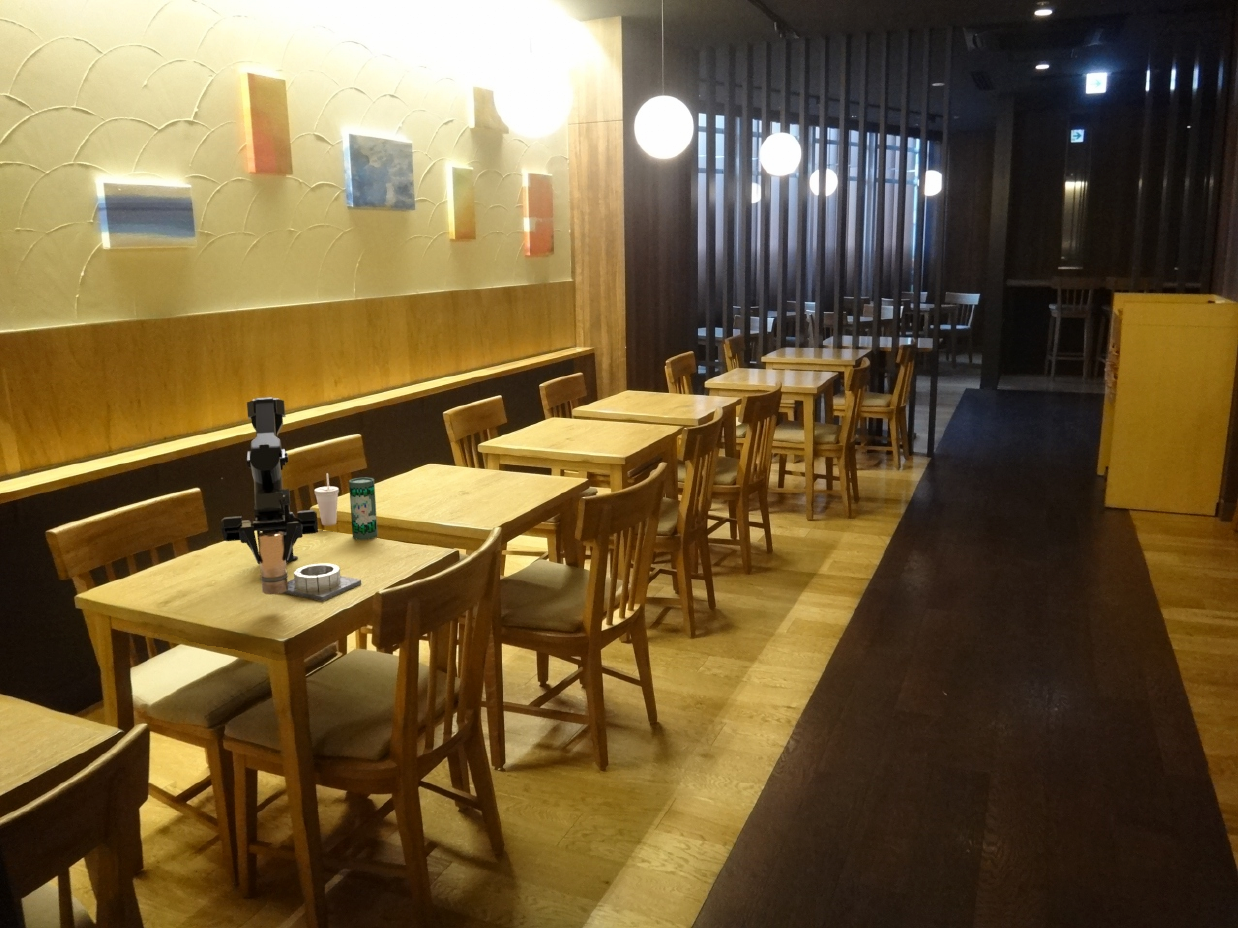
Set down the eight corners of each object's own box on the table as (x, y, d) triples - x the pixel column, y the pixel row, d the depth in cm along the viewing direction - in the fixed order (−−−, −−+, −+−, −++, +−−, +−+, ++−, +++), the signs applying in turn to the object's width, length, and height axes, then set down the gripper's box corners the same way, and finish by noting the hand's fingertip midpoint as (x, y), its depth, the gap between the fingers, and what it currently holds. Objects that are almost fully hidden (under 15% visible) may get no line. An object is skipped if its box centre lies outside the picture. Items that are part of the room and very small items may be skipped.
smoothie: (334, 527, 262) (330, 476, 259) (312, 526, 263) (308, 475, 260) (345, 520, 268) (342, 471, 265) (323, 519, 269) (320, 470, 266)
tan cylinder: (256, 592, 201) (251, 536, 198) (275, 584, 205) (270, 529, 203) (275, 595, 199) (270, 539, 196) (294, 588, 203) (289, 532, 200)
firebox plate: (274, 591, 214) (272, 573, 213) (313, 575, 224) (312, 558, 223) (322, 601, 208) (321, 583, 207) (361, 583, 218) (360, 566, 217)
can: (351, 540, 251) (348, 483, 247) (354, 533, 256) (350, 478, 253) (376, 539, 251) (372, 482, 248) (378, 532, 257) (374, 477, 254)
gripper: (217, 479, 198) (219, 547, 190) (313, 472, 203) (319, 538, 195) (223, 507, 207) (225, 573, 199) (315, 499, 212) (320, 563, 205)
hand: (272, 561), depth 199 cm, fingers closed on tan cylinder, 5 cm apart
